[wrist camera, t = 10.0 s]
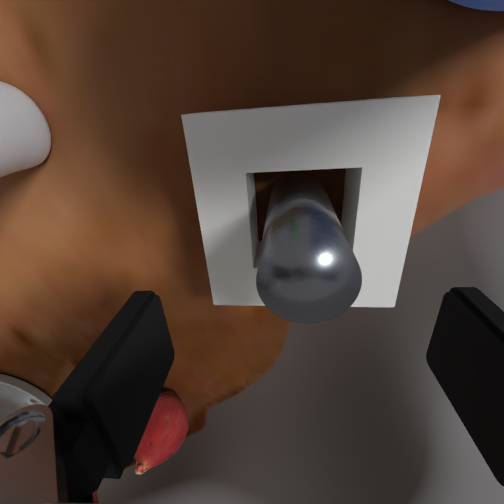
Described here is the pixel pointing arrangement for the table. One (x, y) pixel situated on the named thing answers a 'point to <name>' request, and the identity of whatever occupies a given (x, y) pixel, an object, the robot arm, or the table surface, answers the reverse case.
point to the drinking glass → (21, 131)
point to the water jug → (482, 4)
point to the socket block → (311, 158)
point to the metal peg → (305, 254)
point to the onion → (162, 432)
